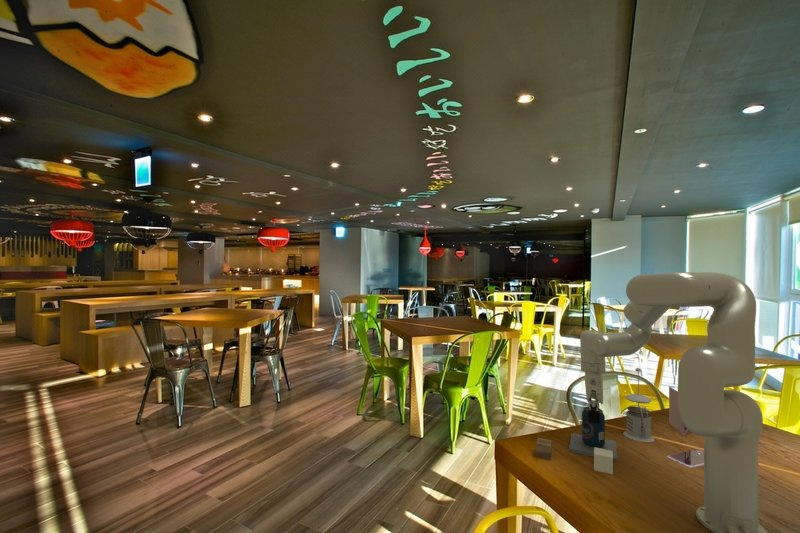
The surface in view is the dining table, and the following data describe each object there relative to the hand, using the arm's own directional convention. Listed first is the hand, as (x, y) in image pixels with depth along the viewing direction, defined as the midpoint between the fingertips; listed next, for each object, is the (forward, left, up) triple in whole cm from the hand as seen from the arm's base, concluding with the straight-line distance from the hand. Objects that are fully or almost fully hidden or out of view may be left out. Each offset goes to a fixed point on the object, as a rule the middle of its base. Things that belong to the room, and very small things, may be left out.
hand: (594, 417), depth 127 cm
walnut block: (-14, +14, -11) cm, 22 cm away
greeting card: (+34, -29, -11) cm, 46 cm away
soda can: (0, 0, -10) cm, 10 cm away
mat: (0, 0, -10) cm, 10 cm away
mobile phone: (+8, -29, -11) cm, 32 cm away
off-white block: (-14, -3, -11) cm, 17 cm away
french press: (+18, -15, -11) cm, 26 cm away
